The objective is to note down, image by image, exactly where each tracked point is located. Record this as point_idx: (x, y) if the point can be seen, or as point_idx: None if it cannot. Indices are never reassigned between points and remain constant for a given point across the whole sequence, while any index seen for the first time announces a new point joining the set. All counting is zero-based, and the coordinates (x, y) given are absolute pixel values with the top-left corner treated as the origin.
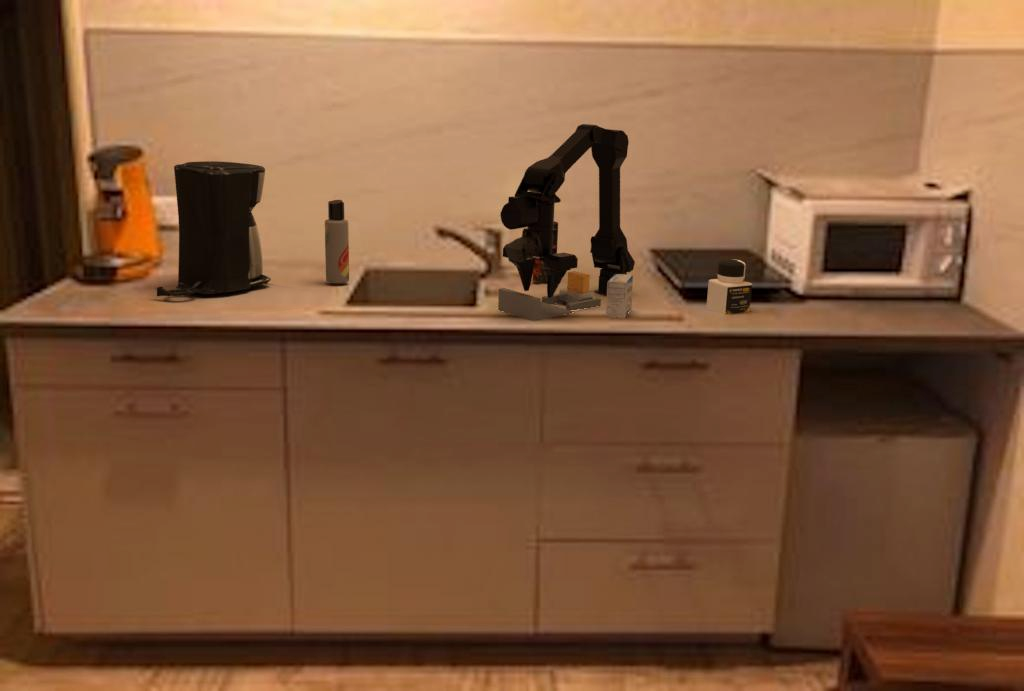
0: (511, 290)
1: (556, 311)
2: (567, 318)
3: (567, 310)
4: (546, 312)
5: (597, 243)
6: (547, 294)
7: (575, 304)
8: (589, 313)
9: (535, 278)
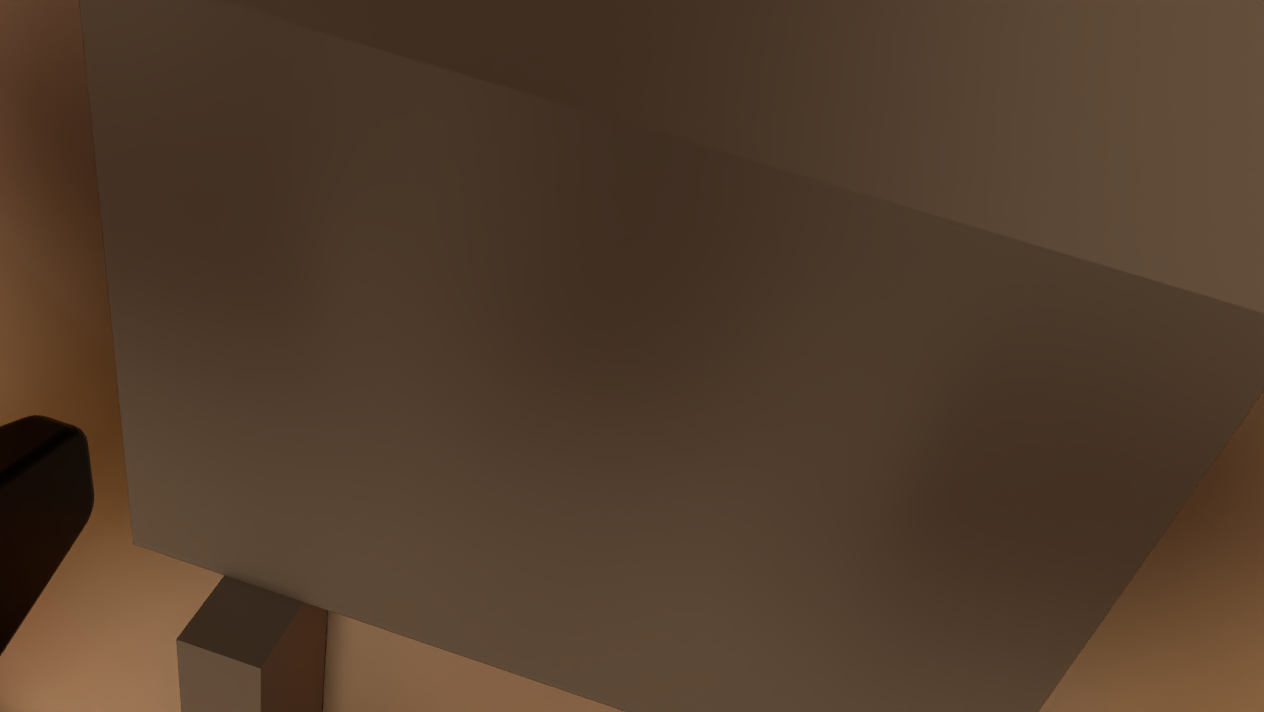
0: (1232, 245)
1: (279, 413)
2: (62, 295)
3: (227, 543)
4: (336, 262)
5: None
6: (15, 459)
7: (188, 707)
8: (123, 646)
9: None
